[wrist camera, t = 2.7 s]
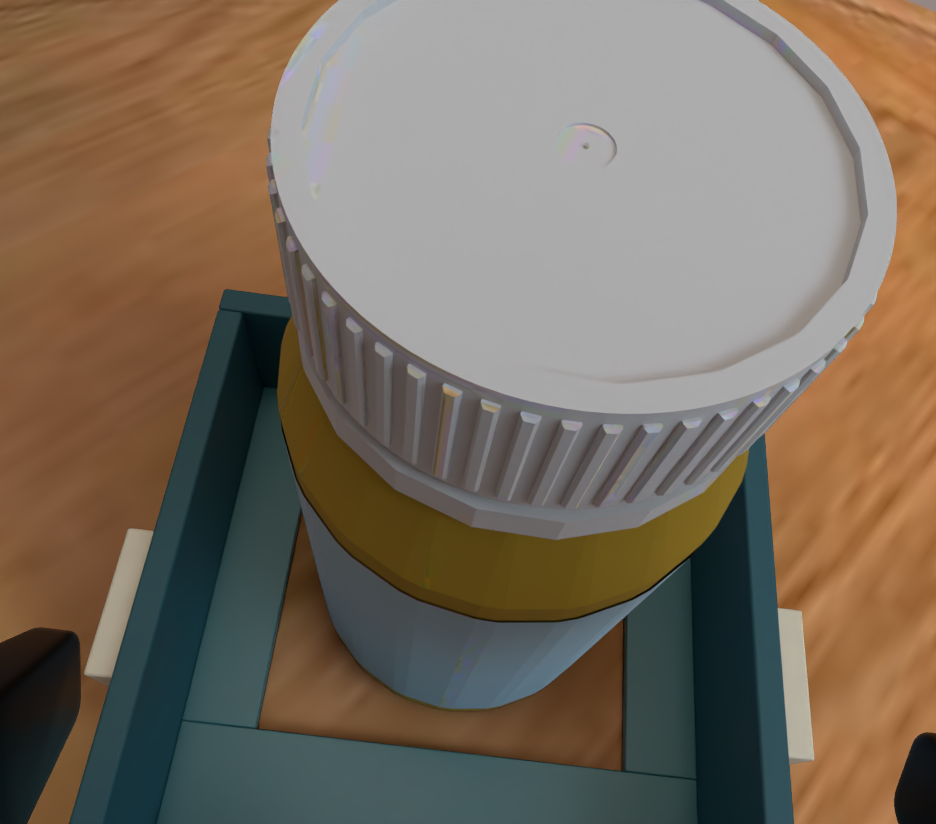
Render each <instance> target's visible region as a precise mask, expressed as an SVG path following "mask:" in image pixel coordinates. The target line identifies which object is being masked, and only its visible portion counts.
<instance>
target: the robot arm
mask: <svg viewBox="0 0 936 824" xmlns="http://www.w3.org/2000/svg"><path fill="white" fill-rule="evenodd" d="M80 701H81V673H80V642H79V639H78V636H77V635H76V634H75V633H74V632H72V631H67V630H58V629H50V628H41V627H39V628H34V629H31V630H29V631H26V632H24V633H22V634H19V635H17V636H15V637H13V638H10V639H8V640H6V641H4V642H1V643H0V824H27V822H28V820H29V818H30V816H31V814H32V812H33V810H34V808H35V806H36V803H37V801H38V799H39V797H40V795H41V793H42V791H43V789H44V787H45V784H46V782H47V780H48V778H49V776H50V774H51V772H52V770H53V768H54V766H55V763H56V761H57V759H58V757H59V755H60V753H61V751H62V749H63V747H64V744H65V742H66V740H67V738H68V736H69V734H70V732H71V730H72V728H73V725H74V723H75V721H76V718H77V715H78V712H79V708H80ZM894 807H895V813H896V817H897V821H898V823H899V824H936V733H929V732H926V733H922V734H920V735H918V736H917V738H916V739H915V740H914V742H913V744H912V747H911V749H910V752H909V755H908V758H907V760H906V763H905V766H904V769H903V771H902V774H901V777H900V780H899V783H898V785H897V788H896V792H895V798H894Z"/></svg>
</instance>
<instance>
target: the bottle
mask: <svg viewBox="0 0 936 824" xmlns="http://www.w3.org/2000/svg"><path fill="white" fill-rule="evenodd" d="M267 140H268V146H269V154H268V156H267V158H266V167H267V173H268V178H269V186H268V188H269V193H270V199H271V205H272V210H273V216H274V221H275V227H276V232H277V238H278V244H279V249H280V255H281V260H282V266H283V271H284V277H285V282H286V288H287V294H288V299H289V303H290V304H291V309H292V316H291V318H290V320H289V322H288V324H287V326H286V329H285V333H284V336H283V340H282V344H281V354H280V365H279V377H278V388H277V397H278V407H279V414H280V419H281V429H282V434H283V437H284V441H285V445H286V449H287V453H288V457H289V461H290V465H291V469H292V473H293V477H294V481H295V484H296V488H297V492H298V496H299V500H300V504H301V508H302V512H303V516H304V520H305V524H306V528H307V532H308V535H309V539H310V543H311V547H312V551H313V555H314V559H315V563H316V567H317V571H318V575H319V579H320V582H321V586H322V590H323V594H324V597H325V601H326V604H327V608H328V611H329V615H330V619H331V621H332V623H333V625H334V627H335V629H336V632H337V634H338V636H339V637H340V639H341V640H342V642H343V643H344V645H345V646H346V647H347V649H348V650H349V652H350V653H351V655H352V656H353V658H354V659H355V661H356V662H357V663H358V664H359V666H360V667H361V668H362V669H363V670H364V671H365V672H366V673H368V674H369V675H370V676H372V677H373V678H374V679H376V680H377V681H378V682H380V683H381V684H382V685H384V686H385V687H386V688H388V689H389V690H390V691H392V692H393V693H395V694H397V695H399V696H400V697H402V698H404V699H407V700H410V701H413V702H417V703H420V704H423V705H426V706H429V707H432V708H435V709H439V710H445V711H485V710H490V709H496V708H499V707H501V706H504V705H507V704H510V703H512V702H515V701H518V700H521V699H523V698H526V697H529V696H530V695H532V694H534V693H536V692H538V691H539V690H541V689H543V688H544V687H546V686H547V685H548V684H549V683H551V682H552V681H553V680H554V679H555V678H557V677H558V676H559V675H560V674H561V673H563V672H564V671H565V670H566V669H568V668H569V667H570V666H571V665H572V664H573V663H574V662H576V661H577V660H578V659H579V658H580V657H581V656H582V655H583V654H584V653H585V652H587V651H588V650H589V649H590V648H591V647H592V646H593V645H594V644H595V643H597V642H598V641H599V640H600V639H601V638H602V637H603V636H604V635H605V634H606V633H608V632H609V631H610V630H611V629H612V628H613V627H614V626H615V625H616V624H618V623H619V622H620V621H621V620H622V619H623V618H624V617H625V616H626V615H627V614H629V613H630V612H631V611H632V610H633V609H634V608H635V607H636V606H637V605H639V604H640V603H641V602H642V601H643V600H644V599H645V598H646V597H647V596H649V595H650V594H651V593H652V592H653V591H654V590H655V589H656V588H657V587H658V586H660V585H661V584H662V583H663V582H664V581H665V580H666V579H667V578H668V577H670V576H671V575H672V574H673V573H674V572H675V571H676V570H677V569H678V568H679V567H681V566H682V565H683V564H684V563H685V562H686V561H687V560H688V559H689V558H691V556H692V555H693V554H694V553H695V552H696V551H697V549H698V548H699V547H700V546H701V545H702V543H703V542H704V541H705V540H706V539H707V537H708V536H709V535H710V534H711V533H712V532H713V530H714V529H715V528H716V526H717V525H718V523H719V521H720V519H721V518H722V516H723V514H724V512H725V511H726V509H727V507H728V505H729V504H730V502H731V500H732V498H733V497H734V495H735V493H736V491H737V489H738V488H739V486H740V484H741V482H742V479H743V476H744V473H745V470H746V467H747V461H748V454H749V448H750V446H751V445H752V444H753V443H754V442H755V441H756V440H757V439H758V438H759V437H761V436H762V435H763V434H764V433H765V432H766V431H767V430H768V429H769V428H770V427H771V426H772V425H773V424H774V422H775V421H776V420H777V419H778V418H779V417H780V416H781V415H782V414H783V413H784V412H785V411H786V410H787V409H788V408H789V407H790V406H791V405H792V403H793V402H794V401H795V400H796V399H797V398H798V397H799V396H800V395H801V394H802V393H803V392H804V391H805V390H806V389H807V388H808V387H809V386H810V384H811V383H812V382H813V381H814V380H815V379H816V378H817V377H818V376H819V375H820V374H821V373H822V372H823V371H824V370H825V369H826V368H827V367H828V365H829V364H830V363H831V362H832V361H833V360H834V359H835V358H836V357H837V356H838V355H839V354H840V353H841V352H842V351H843V350H844V348H845V347H846V345H847V342H848V341H849V340H850V339H851V338H852V337H853V336H854V335H855V334H856V333H857V332H858V331H859V329H860V328H861V326H862V325H863V323H864V315H865V314H866V313H867V312H868V311H869V310H870V308H871V307H872V306H873V305H874V303H875V301H876V299H877V291H878V290H879V287H880V285H881V283H882V281H883V280H884V276H885V274H886V271H887V268H888V265H889V262H890V258H891V255H892V251H893V246H894V240H895V233H896V222H897V203H896V191H895V184H894V178H893V173H892V169H891V165H890V161H889V158H888V154H887V151H886V148H885V146H884V143H883V140H882V138H881V135H880V133H879V131H878V129H877V127H876V125H875V122H874V120H873V119H872V117H871V115H870V113H869V111H868V109H867V108H866V106H865V105H864V103H863V101H862V100H861V98H860V97H859V95H858V94H857V92H856V91H855V89H854V88H853V86H852V85H851V84H850V82H849V81H848V80H847V79H846V77H845V76H844V75H843V74H842V72H841V71H840V70H839V69H838V68H837V66H836V65H835V64H834V63H833V62H832V61H831V60H830V59H829V58H828V57H827V55H826V54H825V53H824V52H823V51H822V50H821V49H820V48H819V47H818V46H817V45H815V44H814V43H813V42H812V41H811V40H810V39H809V38H808V37H807V36H806V35H804V34H803V33H802V32H801V31H800V30H798V29H797V28H796V27H795V26H794V25H792V24H791V23H790V22H788V21H787V20H786V19H784V18H783V17H782V16H780V15H779V14H777V13H776V12H775V11H773V10H772V9H770V8H769V7H767V6H766V5H764V4H763V3H761V2H760V1H758V0H339V1H337V2H336V3H335V4H334V5H333V6H332V7H331V8H330V9H328V10H327V11H326V12H325V13H324V14H323V15H322V16H321V17H320V18H319V20H318V21H317V22H316V23H315V24H314V25H313V26H312V28H311V29H310V30H309V31H308V33H307V34H306V35H305V37H304V38H303V39H302V41H301V42H300V44H299V45H298V47H297V48H296V50H295V52H294V54H293V55H292V57H291V59H290V61H289V63H288V65H287V67H286V69H285V71H284V74H283V76H282V79H281V82H280V84H279V88H278V91H277V94H276V98H275V103H274V108H273V112H272V121H271V128H270V130H269V131H268V138H267Z"/></svg>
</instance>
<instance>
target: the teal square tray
mask: <svg viewBox="0 0 936 824" xmlns="http://www.w3.org/2000/svg"><path fill="white" fill-rule="evenodd" d="M291 316H292V309H291V304H290V303H289V299H288V297H281V296H273V295H266V294H258V293H251V292H243V291H236V290H228V289H226V290H224V292H223V295H222V299H221V302H220V305H219V311H218V312H217V316H216V319H215V323H214V326H213V330H212V333H211V336H210V340H209V343H208V347H207V350H206V354H205V357H204V361H203V364H202V367H201V371H200V374H199V378H198V381H197V385H196V388H195V392H194V395H193V398H192V402H191V405H190V409H189V412H188V416H187V419H186V423H185V426H184V429H183V433H182V436H181V440H180V443H179V447H178V450H177V454H176V457H175V460H174V464H173V467H172V471H171V474H170V478H169V481H168V484H167V488H166V491H165V495H164V498H163V502H162V505H161V509H160V512H159V515H158V519H157V522H156V526H155V529H154V531H150V530H142V529H134V528H130V529H128V531H127V534H126V537H125V540H124V544H123V547H122V550H121V553H120V557H119V560H118V563H117V566H116V570H115V573H114V576H113V579H112V583H111V586H110V589H109V593H108V596H107V599H106V602H105V606H104V609H103V612H102V615H101V619H100V622H99V625H98V628H97V632H96V635H95V638H94V642H93V645H92V648H91V651H90V655H89V658H88V661H87V664H86V668H85V671H84V674H85V675H87V676H88V677H90V678H92V679H94V680H96V681H98V682H100V683H102V684H103V685H105V686H107V687H109V688H108V691H107V694H106V698H105V701H104V705H103V708H102V712H101V715H100V719H99V722H98V725H97V729H96V732H95V736H94V739H93V743H92V746H91V750H90V753H89V756H88V760H87V763H86V767H85V770H84V774H83V777H82V781H81V784H80V787H79V791H78V794H77V798H76V801H75V805H74V808H73V811H72V815H71V818H70V822H69V824H794V819H793V805H792V792H791V779H790V765H791V764H796V763H802V762H808V761H813V760H814V748H813V737H812V725H811V714H810V703H809V691H808V680H807V669H806V657H805V646H804V635H803V623H802V613H801V611H799V610H791V609H783V608H778V605H777V592H776V579H775V565H774V552H773V539H772V525H771V512H770V499H769V485H768V472H767V459H766V445H765V433H764V434H763V435H762V436H761V437H759V438H758V439H757V440H756V441H755V442H754V443H753V444H752V445H751V446H750V448H749V454H748V461H747V467H746V470H745V473H744V476H743V479H742V482H741V484H740V486H739V488H738V489H737V491H736V493H735V495H734V497H733V498H732V500H731V502H730V504H729V505H728V507H727V509H726V511H725V512H724V514H723V516H722V518H721V519H720V521H719V523H718V525H717V526H716V528H715V529H714V530H713V532H712V533H711V534H710V535H709V536H708V537H707V539H706V540H705V541H704V542H703V543H702V545H701V546H700V547H699V548H698V549H697V551H696V552H695V553H694V554H693V555H692V556H691V558H689V559H688V560H687V561H686V562H685V563H684V564H683V565H682V566H681V567H679V568H678V569H677V570H676V571H675V572H674V573H673V574H672V575H671V576H670V577H668V578H667V579H666V580H665V581H664V582H663V583H662V584H661V585H660V586H658V587H657V588H656V589H655V590H654V591H653V592H652V593H651V594H650V595H649V596H647V597H646V598H645V599H644V600H643V601H642V602H641V603H640V604H639V605H637V606H636V607H635V608H634V609H633V610H632V611H631V612H630V613H629V614H627V615H626V616H625V617H624V684H623V769H622V771H616V770H607V769H599V768H590V767H582V766H573V765H564V764H556V763H547V762H539V761H530V760H521V759H513V758H504V757H496V756H487V755H478V754H470V753H461V752H453V751H444V750H435V749H427V748H418V747H410V746H401V745H392V744H384V743H375V742H367V741H358V740H349V739H341V738H332V737H324V736H315V735H306V734H298V733H289V732H281V731H272V730H263V729H257V728H258V723H259V718H260V713H261V709H262V704H263V699H264V694H265V689H266V684H267V679H268V674H269V670H270V665H271V660H272V655H273V650H274V645H275V640H276V635H277V631H278V626H279V621H280V616H281V611H282V606H283V601H284V597H285V592H286V587H287V582H288V577H289V572H290V567H291V562H292V558H293V553H294V548H295V543H296V538H297V533H298V528H299V523H300V519H301V514H302V508H301V504H300V500H299V496H298V492H297V488H296V484H295V481H294V477H293V473H292V469H291V465H290V461H289V457H288V453H287V449H286V445H285V441H284V437H283V434H282V429H281V419H280V414H279V407H278V397H277V388H278V377H279V365H280V354H281V344H282V340H283V336H284V333H285V329H286V326H287V324H288V322H289V320H290V318H291Z"/></svg>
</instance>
